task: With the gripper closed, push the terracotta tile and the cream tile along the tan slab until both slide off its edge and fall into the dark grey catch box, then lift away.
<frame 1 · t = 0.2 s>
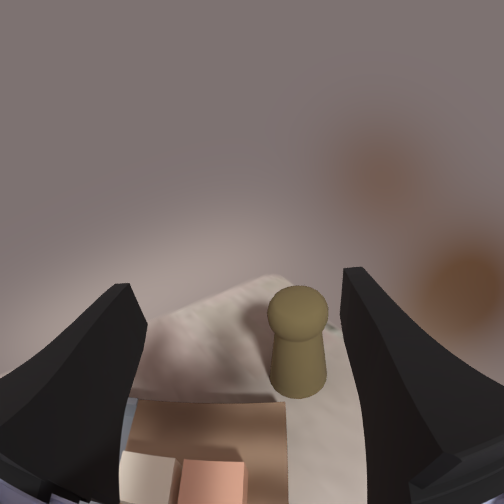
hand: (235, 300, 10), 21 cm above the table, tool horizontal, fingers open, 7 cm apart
tan slab: (205, 500, 20), on the table
cream tile: (154, 487, 19), point 3 cm above the table, touching tan slab
terracotta tile: (217, 494, 18), point 3 cm above the table, touching tan slab
cork: (298, 376, 31), on the table
catch box: (87, 478, 21), on the table
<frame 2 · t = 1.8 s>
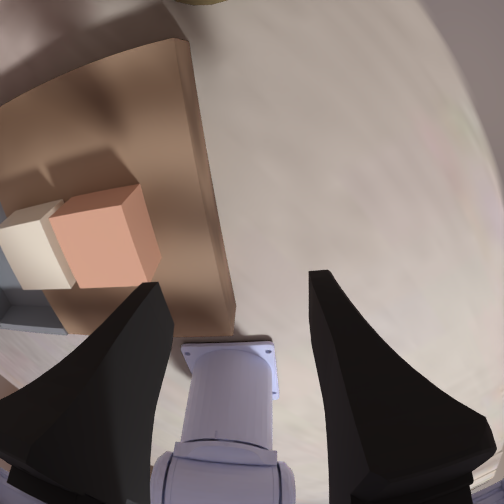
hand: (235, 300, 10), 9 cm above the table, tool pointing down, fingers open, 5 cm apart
tan slab: (111, 207, 19), on the table
cream tile: (49, 236, 17), point 3 cm above the table, touching tan slab
terracotta tile: (115, 226, 16), point 3 cm above the table, touching tan slab
catch box: (1, 228, 20), on the table
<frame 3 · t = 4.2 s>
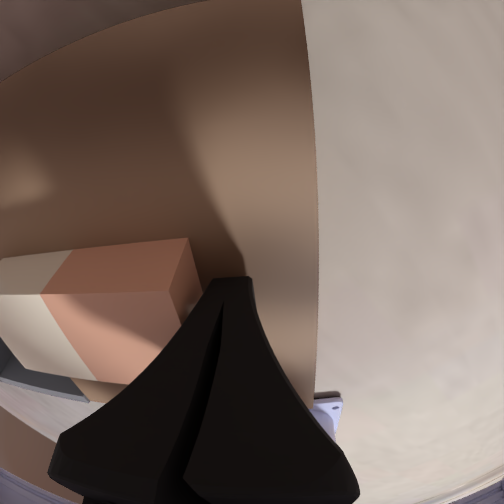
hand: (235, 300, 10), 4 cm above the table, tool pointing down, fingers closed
tan slab: (149, 251, 14), on the table
cream tile: (56, 297, 11), point 3 cm above the table, touching terracotta tile
terracotta tile: (144, 295, 11), point 3 cm above the table, touching cream tile, gripper
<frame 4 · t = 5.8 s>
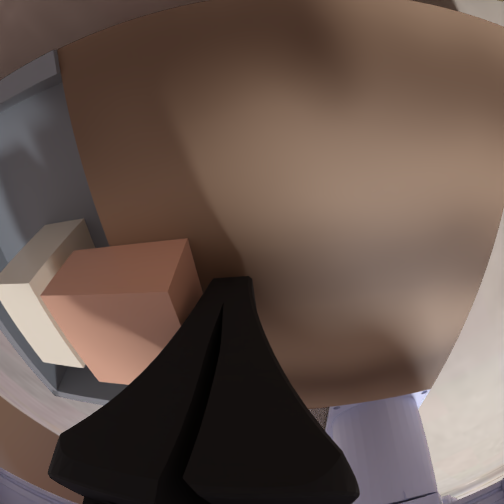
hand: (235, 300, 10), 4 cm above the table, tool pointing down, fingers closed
tan slab: (312, 238, 13), on the table
cream tile: (80, 292, 11), point 3 cm above the table, tilted 90°, touching catch box
terracotta tile: (145, 296, 11), point 3 cm above the table, touching gripper
catch box: (65, 259, 14), on the table
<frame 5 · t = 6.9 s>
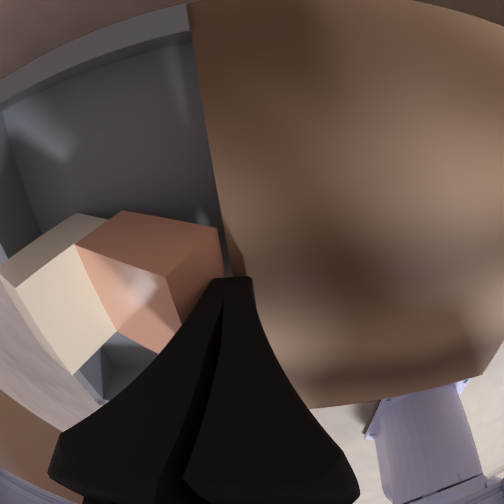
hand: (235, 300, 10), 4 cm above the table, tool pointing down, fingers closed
tan slab: (401, 231, 13), on the table
cream tile: (86, 300, 11), point 4 cm above the table, tilted 116°, touching catch box, terracotta tile
terracotta tile: (177, 269, 12), point 2 cm above the table, tilted 26°, touching cream tile, gripper
catch box: (130, 253, 14), on the table
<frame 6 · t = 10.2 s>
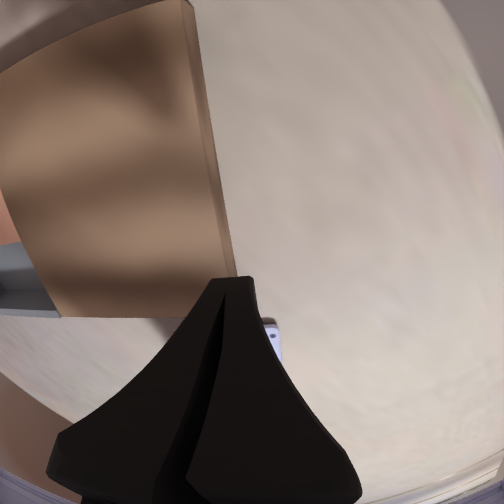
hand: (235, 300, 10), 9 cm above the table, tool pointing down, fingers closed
tan slab: (109, 177, 18), on the table
terracotta tile: (11, 201, 18), resting on catch box
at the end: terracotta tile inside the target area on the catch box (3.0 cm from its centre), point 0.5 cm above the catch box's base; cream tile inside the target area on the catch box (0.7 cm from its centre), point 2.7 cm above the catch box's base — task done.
